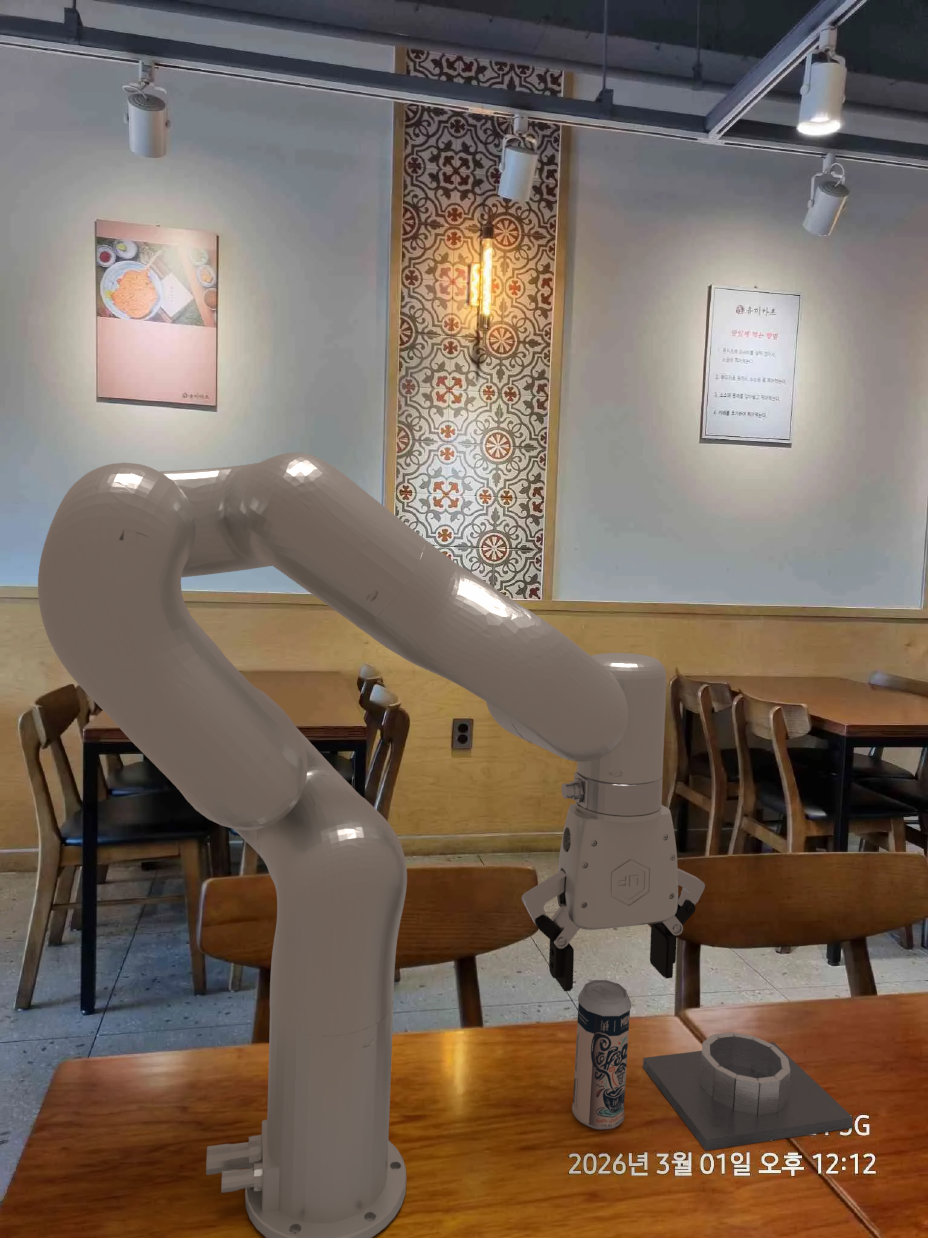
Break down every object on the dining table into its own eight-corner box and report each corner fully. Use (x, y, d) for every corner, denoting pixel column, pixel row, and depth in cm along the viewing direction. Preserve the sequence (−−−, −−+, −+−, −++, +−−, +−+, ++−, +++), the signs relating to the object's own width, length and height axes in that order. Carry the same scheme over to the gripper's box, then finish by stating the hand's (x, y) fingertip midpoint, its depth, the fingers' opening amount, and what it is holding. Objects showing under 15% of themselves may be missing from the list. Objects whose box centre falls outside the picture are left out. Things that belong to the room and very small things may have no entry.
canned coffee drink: (601, 1142, 73) (609, 1011, 72) (560, 1113, 77) (567, 988, 76) (635, 1119, 77) (642, 993, 76) (594, 1092, 80) (601, 972, 79)
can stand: (705, 1151, 73) (708, 1107, 73) (642, 1067, 84) (645, 1029, 84) (852, 1128, 77) (855, 1086, 76) (772, 1051, 88) (775, 1014, 88)
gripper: (540, 812, 69) (535, 1012, 70) (728, 799, 73) (720, 987, 75) (512, 786, 76) (509, 967, 77) (685, 776, 80) (678, 947, 82)
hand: (612, 977), depth 76 cm, fingers open, 9 cm apart
